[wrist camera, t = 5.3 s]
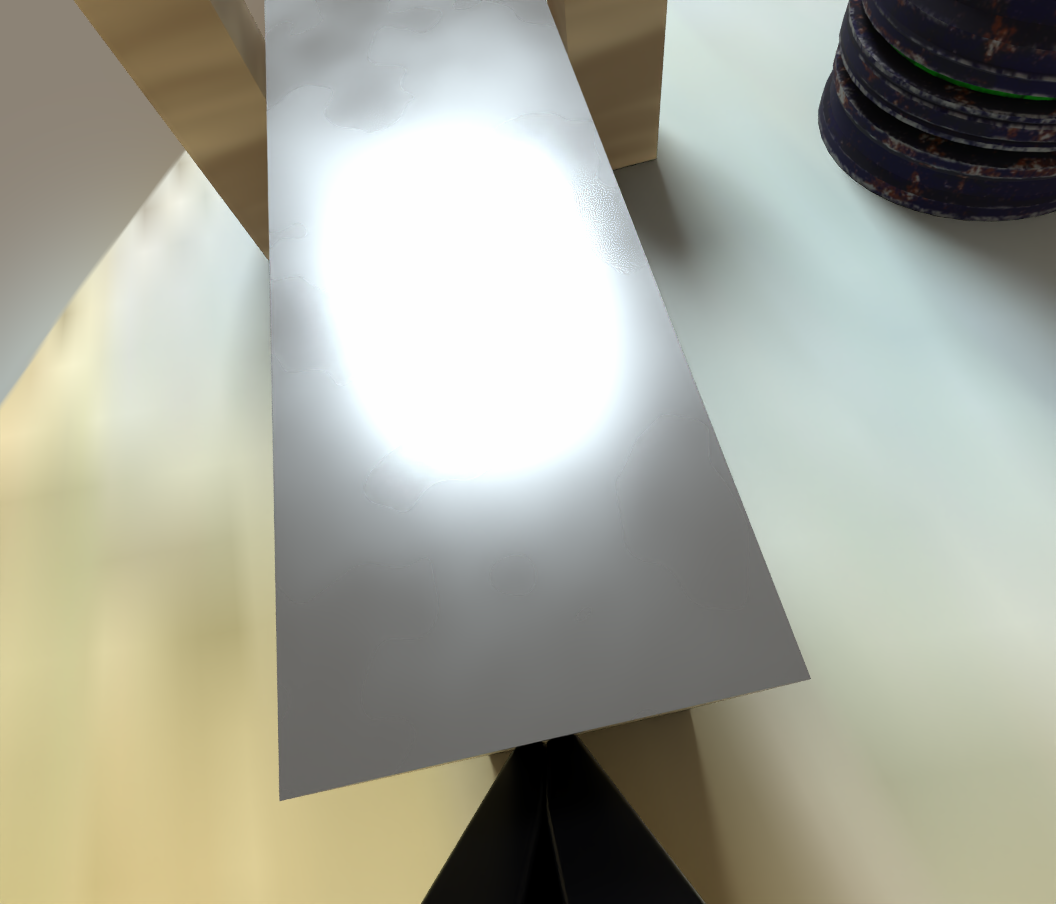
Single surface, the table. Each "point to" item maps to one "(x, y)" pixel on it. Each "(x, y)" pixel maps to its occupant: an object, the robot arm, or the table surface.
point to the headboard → (240, 81)
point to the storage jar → (947, 105)
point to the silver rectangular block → (479, 411)
